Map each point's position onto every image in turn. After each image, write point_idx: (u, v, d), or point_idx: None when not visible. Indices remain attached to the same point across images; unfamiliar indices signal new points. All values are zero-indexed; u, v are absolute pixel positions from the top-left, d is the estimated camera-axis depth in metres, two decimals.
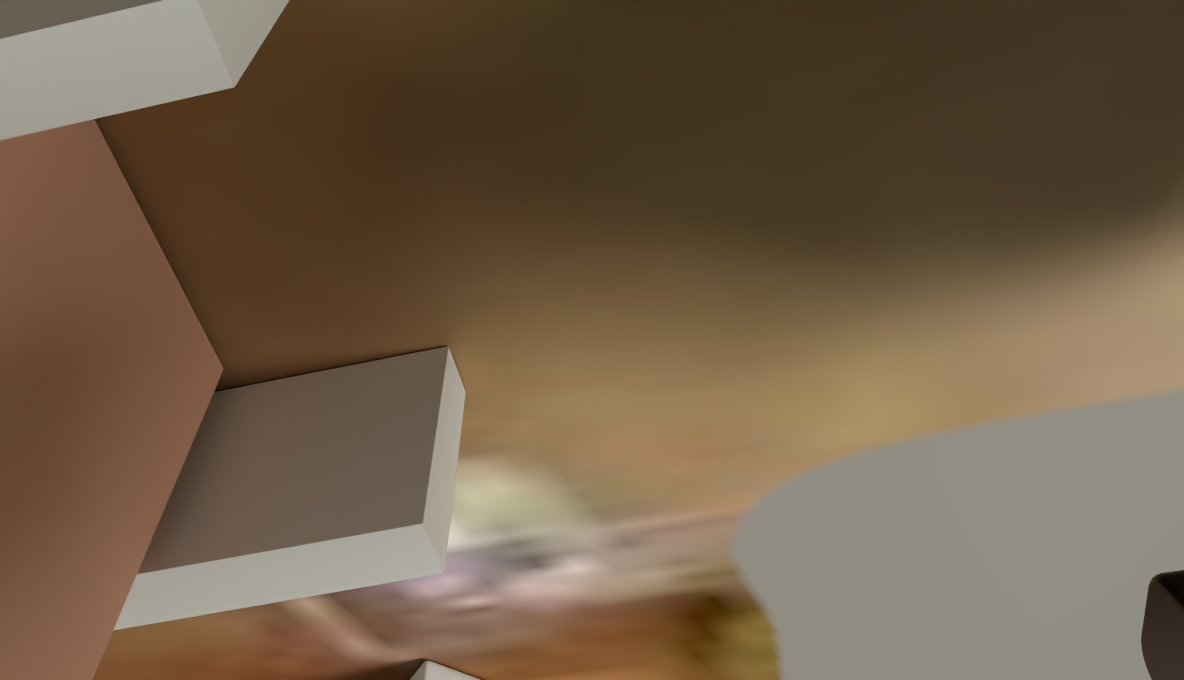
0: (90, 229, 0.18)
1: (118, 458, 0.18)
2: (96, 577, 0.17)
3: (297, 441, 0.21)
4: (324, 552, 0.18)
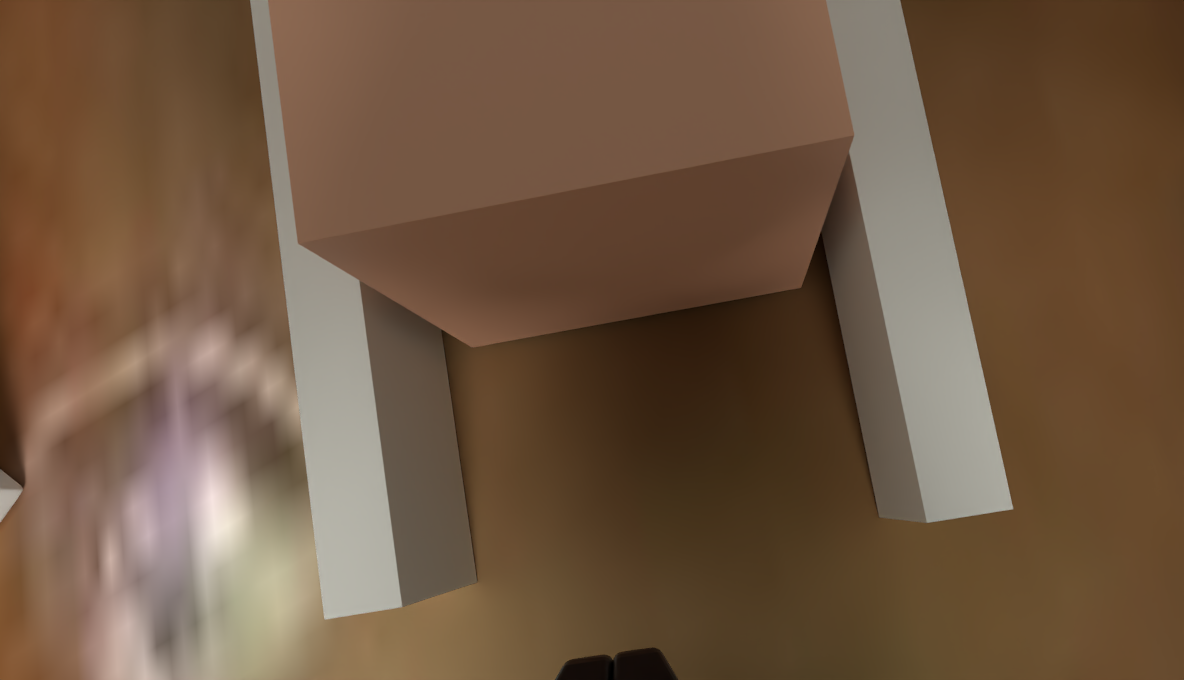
0: (685, 291, 0.20)
1: (500, 293, 0.17)
2: (425, 277, 0.16)
3: (427, 434, 0.20)
4: (370, 489, 0.17)
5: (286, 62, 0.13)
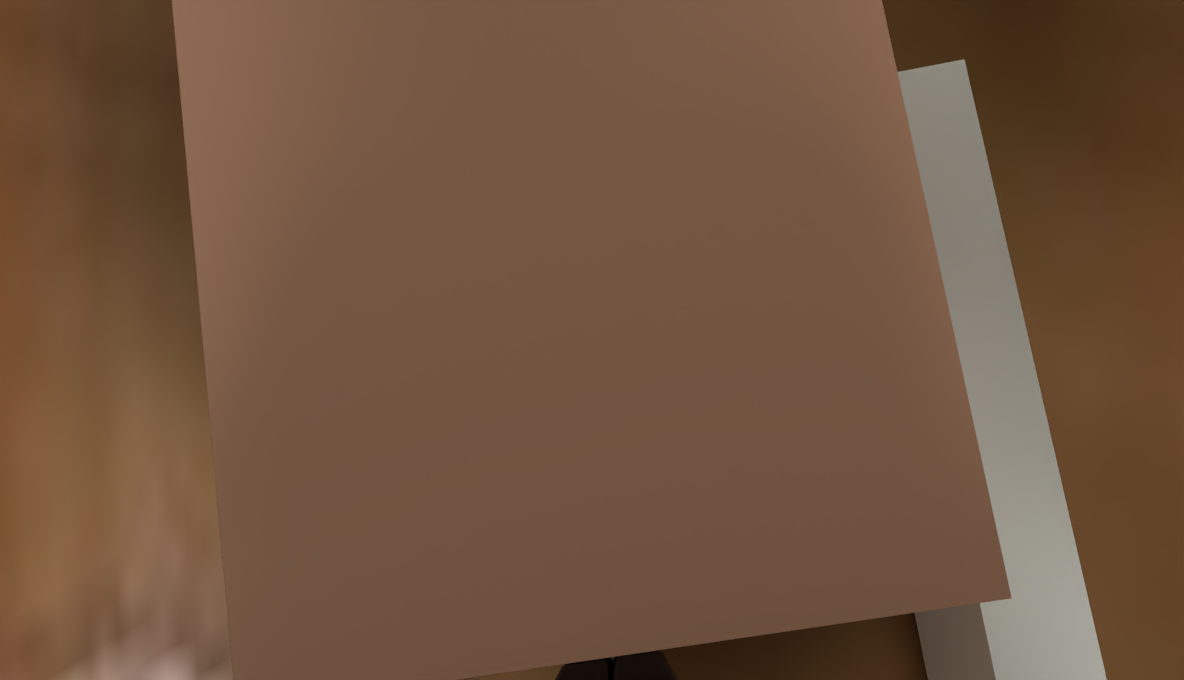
0: None
1: None
2: None
3: None
4: None
5: (227, 448, 0.10)
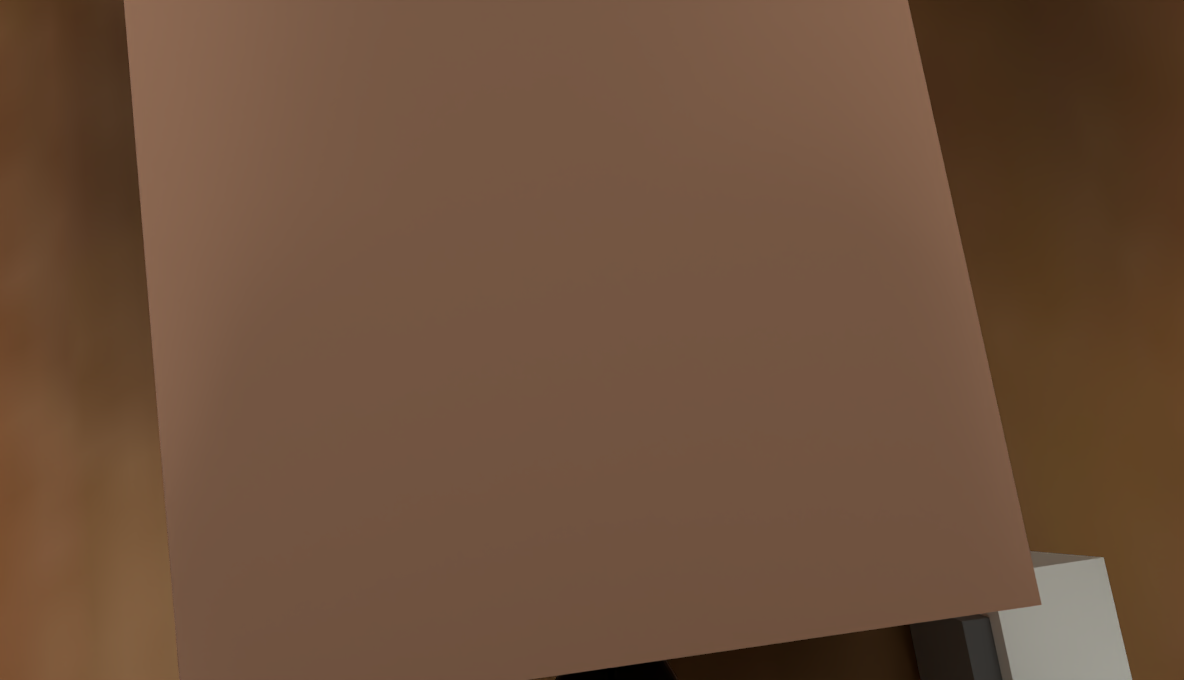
0: None
1: None
2: None
3: None
4: None
5: (175, 439, 0.09)
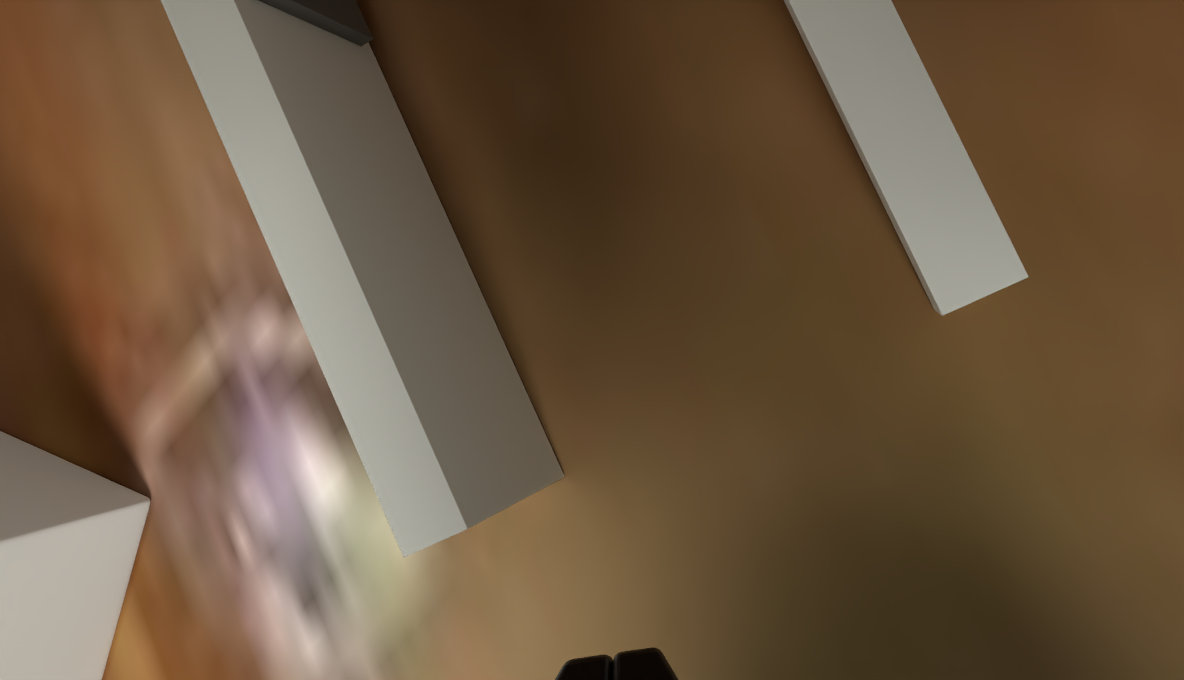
0: None
1: None
2: None
3: (465, 357, 0.20)
4: (407, 429, 0.17)
5: None
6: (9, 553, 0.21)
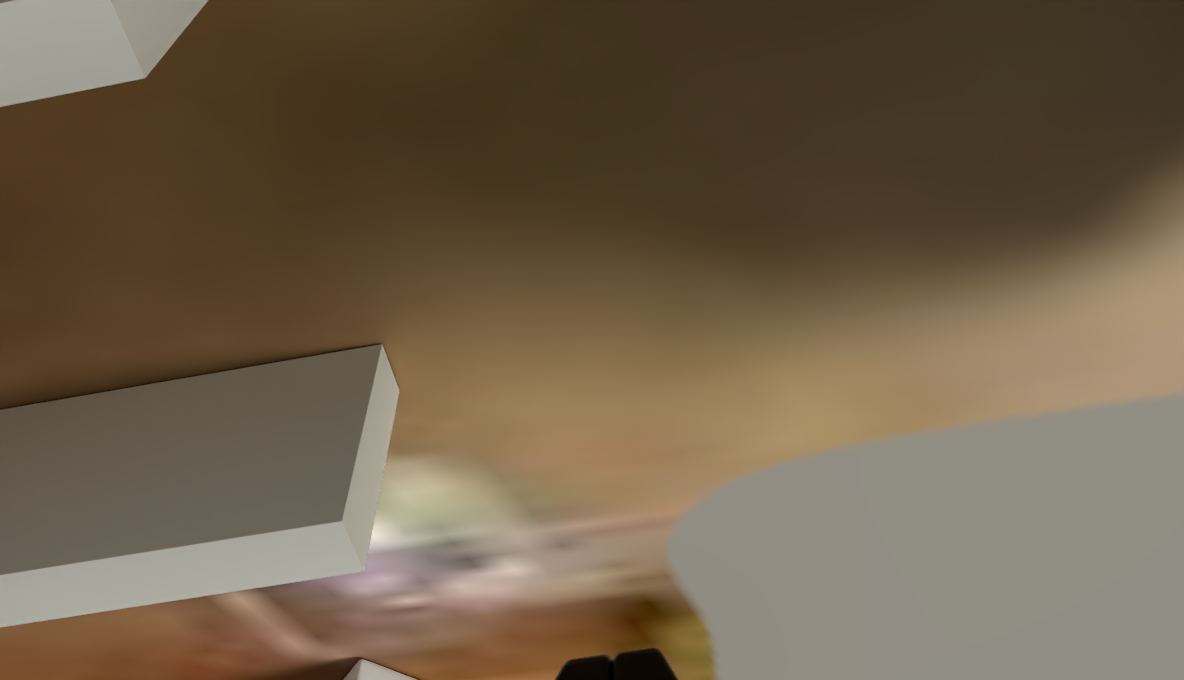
0: None
1: None
2: None
3: (224, 436, 0.21)
4: (242, 548, 0.18)
5: None
6: None
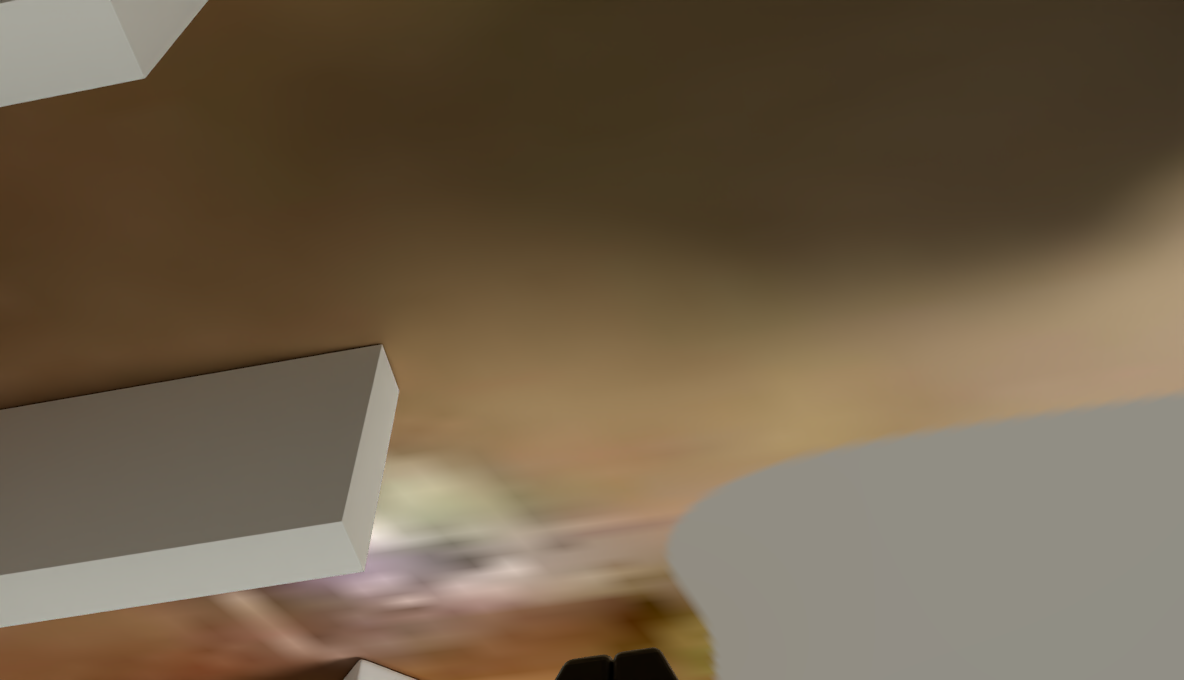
0: None
1: None
2: None
3: (224, 436, 0.21)
4: (242, 548, 0.18)
5: None
6: None
